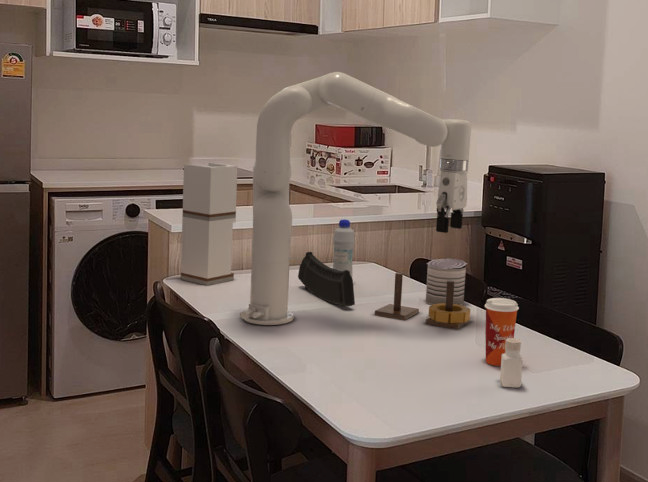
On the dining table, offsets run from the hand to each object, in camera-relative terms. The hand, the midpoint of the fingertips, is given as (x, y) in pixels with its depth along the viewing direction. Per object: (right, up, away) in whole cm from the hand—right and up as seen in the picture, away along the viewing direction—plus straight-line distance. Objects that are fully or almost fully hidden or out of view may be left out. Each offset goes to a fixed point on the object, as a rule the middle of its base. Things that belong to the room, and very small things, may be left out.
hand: (449, 230), depth 219 cm
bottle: (-32, -19, +37) cm, 53 cm away
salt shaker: (+11, -30, -47) cm, 57 cm away
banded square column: (-73, -17, +32) cm, 81 cm away
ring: (0, -23, -1) cm, 23 cm away
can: (-1, -23, +20) cm, 30 cm away
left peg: (-14, -23, +4) cm, 27 cm away
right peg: (0, -24, -2) cm, 24 cm away
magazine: (-35, -21, +18) cm, 45 cm away
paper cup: (+10, -28, -33) cm, 44 cm away
